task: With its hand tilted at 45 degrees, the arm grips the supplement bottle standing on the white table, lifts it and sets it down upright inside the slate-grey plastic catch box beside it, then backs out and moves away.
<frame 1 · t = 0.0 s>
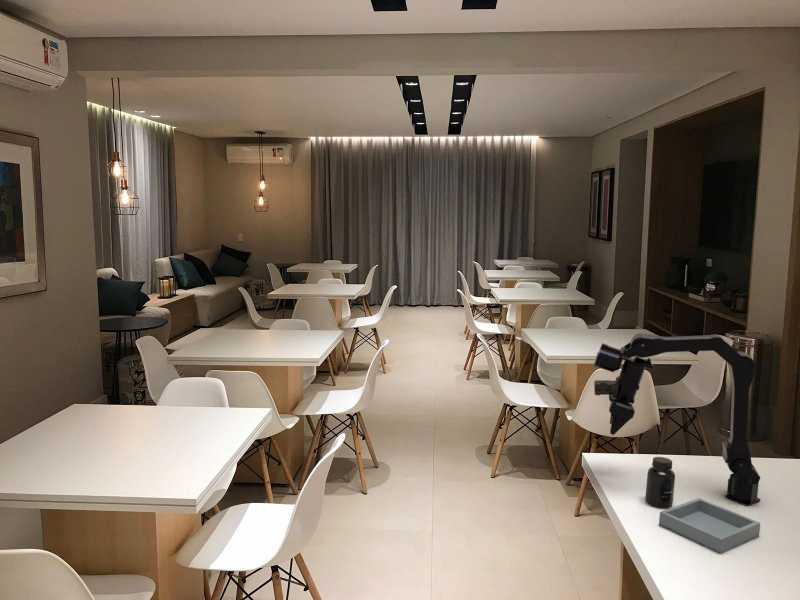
hand: (611, 429, 189), 15 cm above the table, tool pointing down, fingers open, 9 cm apart
supplement bottle: (658, 504, 178), on the table
catch box: (708, 530, 163), on the table
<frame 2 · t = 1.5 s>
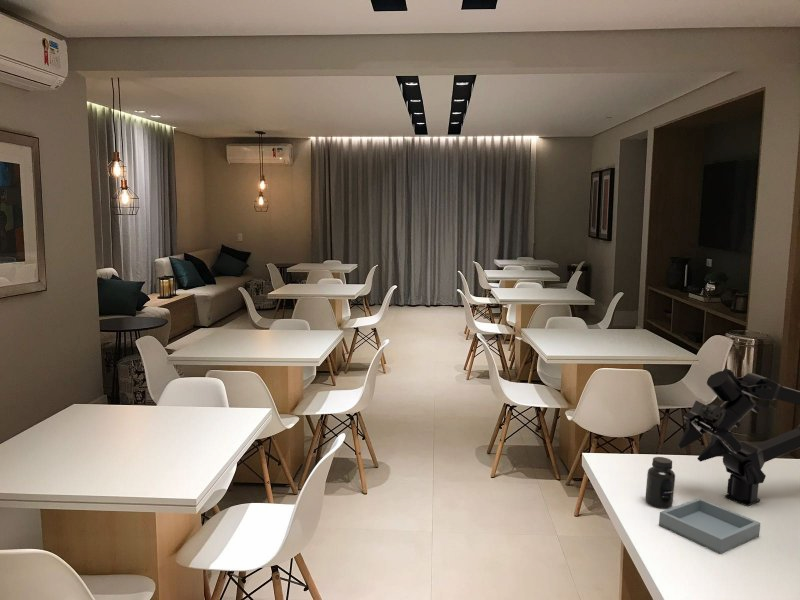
hand: (688, 453, 177), 13 cm above the table, tool tilted 45°, fingers open, 9 cm apart
nothing on the table moved.
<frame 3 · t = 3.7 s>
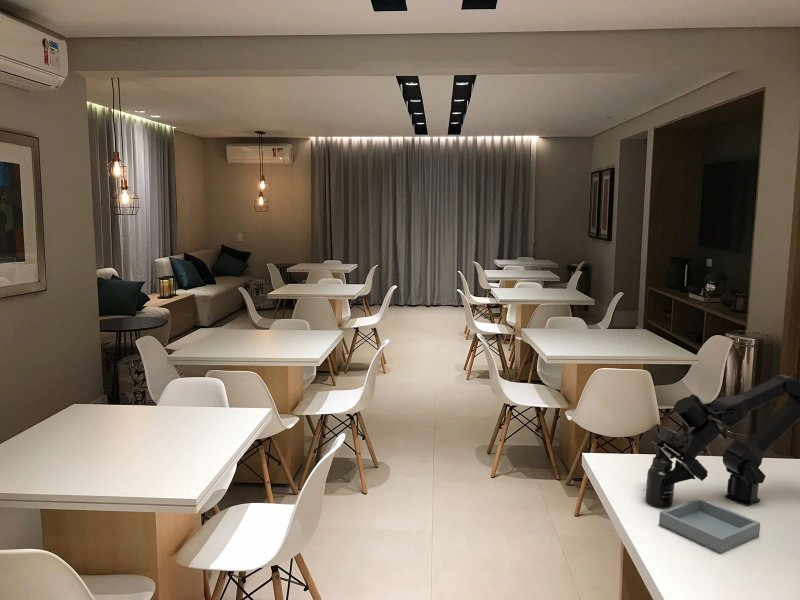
hand: (655, 479, 177), 7 cm above the table, tool tilted 45°, fingers closed on supplement bottle, 7 cm apart
supplement bottle: (658, 504, 178), on the table, touching gripper
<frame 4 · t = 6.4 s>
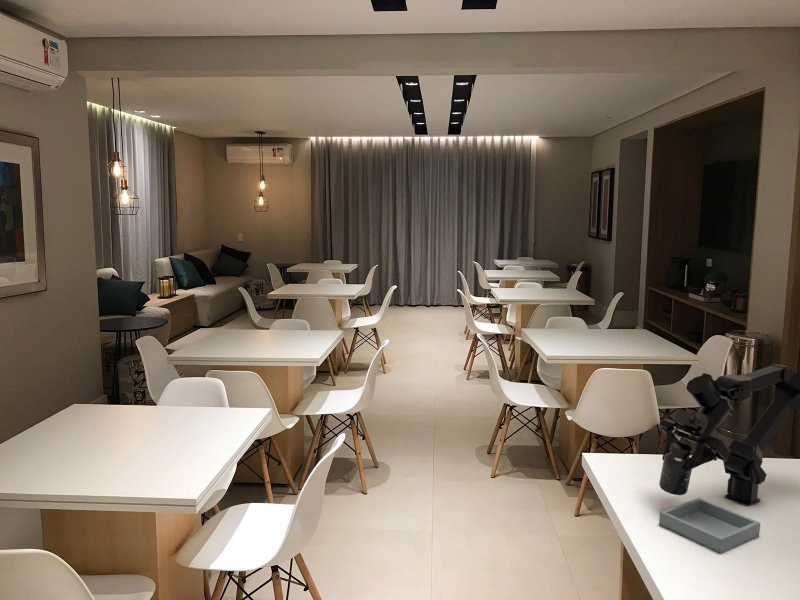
hand: (673, 465, 169), 13 cm above the table, tool tilted 45°, fingers closed on supplement bottle, 7 cm apart
supplement bottle: (672, 489, 171), point 6 cm above the table, touching gripper
when the fingers open (8 cm above the table, at t = 8.9 s): supplement bottle stays where it is, resting on catch box.
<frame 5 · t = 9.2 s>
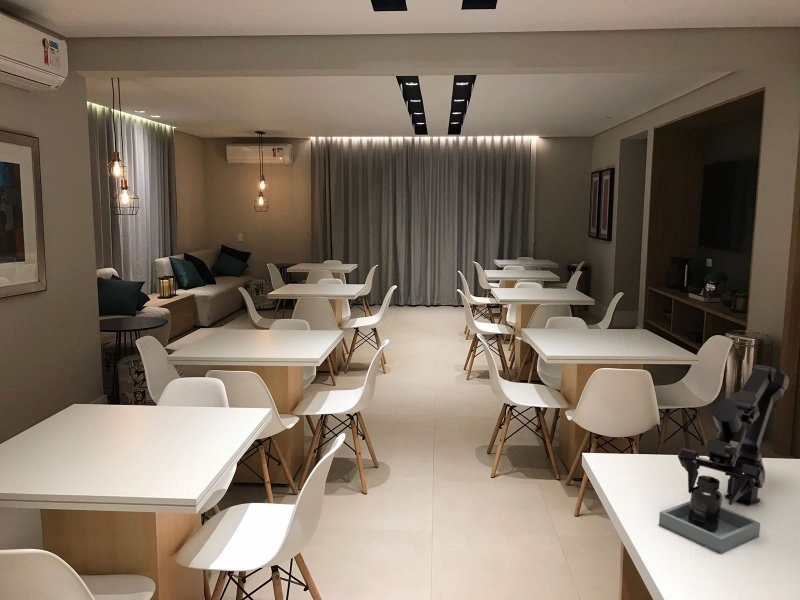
hand: (709, 498, 161), 9 cm above the table, tool tilted 45°, fingers open, 9 cm apart
supplement bottle: (702, 526, 164), point 1 cm above the table, touching catch box, gripper
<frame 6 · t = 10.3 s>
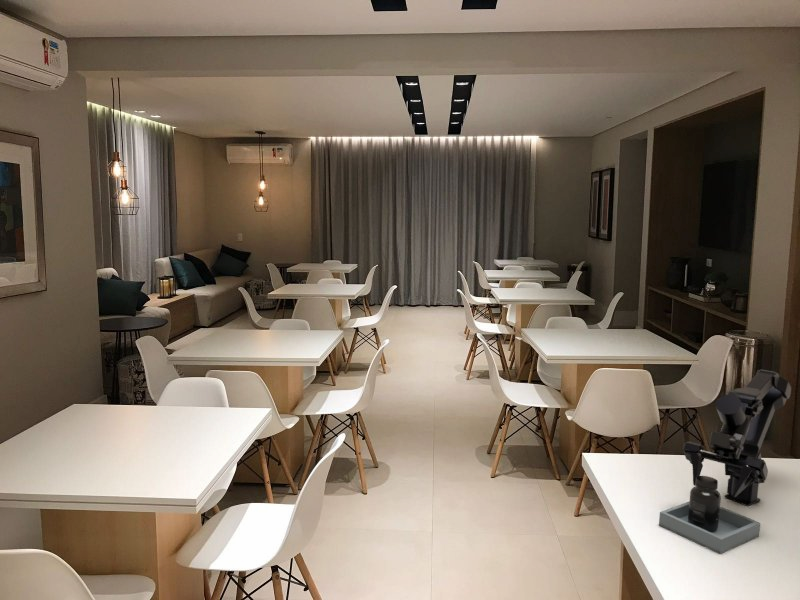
hand: (713, 490, 163), 10 cm above the table, tool tilted 45°, fingers open, 9 cm apart
supplement bottle: (702, 527, 164), resting on catch box
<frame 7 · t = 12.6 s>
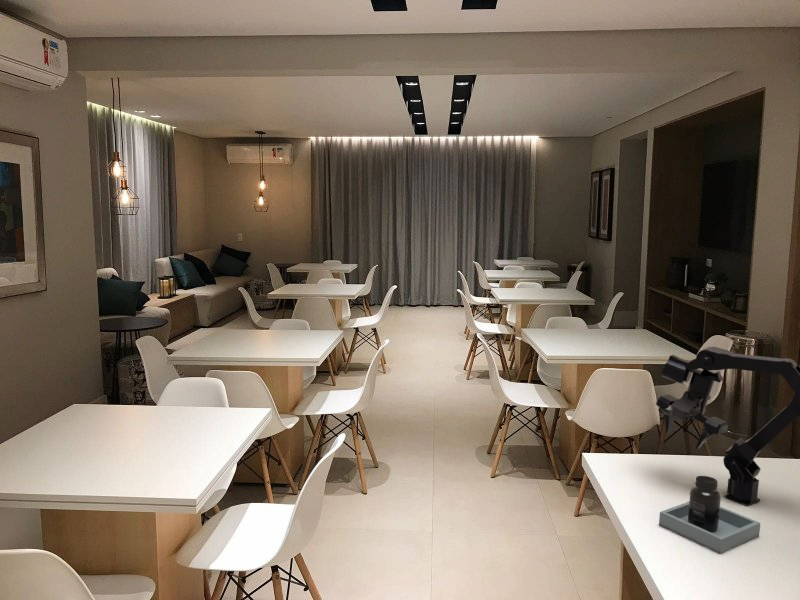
hand: (682, 440, 190), 12 cm above the table, tool pointing down, fingers open, 9 cm apart
nothing on the table moved.
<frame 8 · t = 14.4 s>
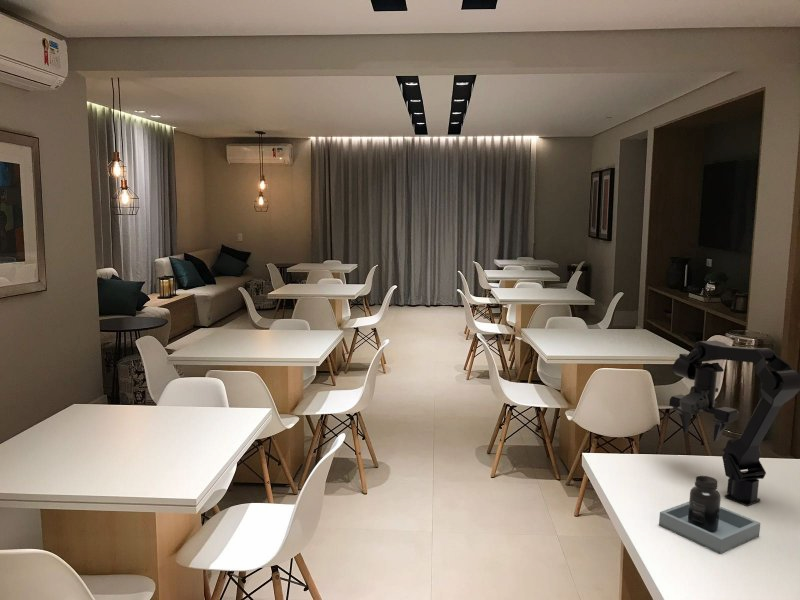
hand: (700, 436, 195), 12 cm above the table, tool pointing down, fingers open, 9 cm apart
nothing on the table moved.
at the end: supplement bottle inside the target area on the catch box (1.4 cm from its centre), point 0.4 cm above the catch box's base; supplement bottle tilted 0°; the gripper is holding nothing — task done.
